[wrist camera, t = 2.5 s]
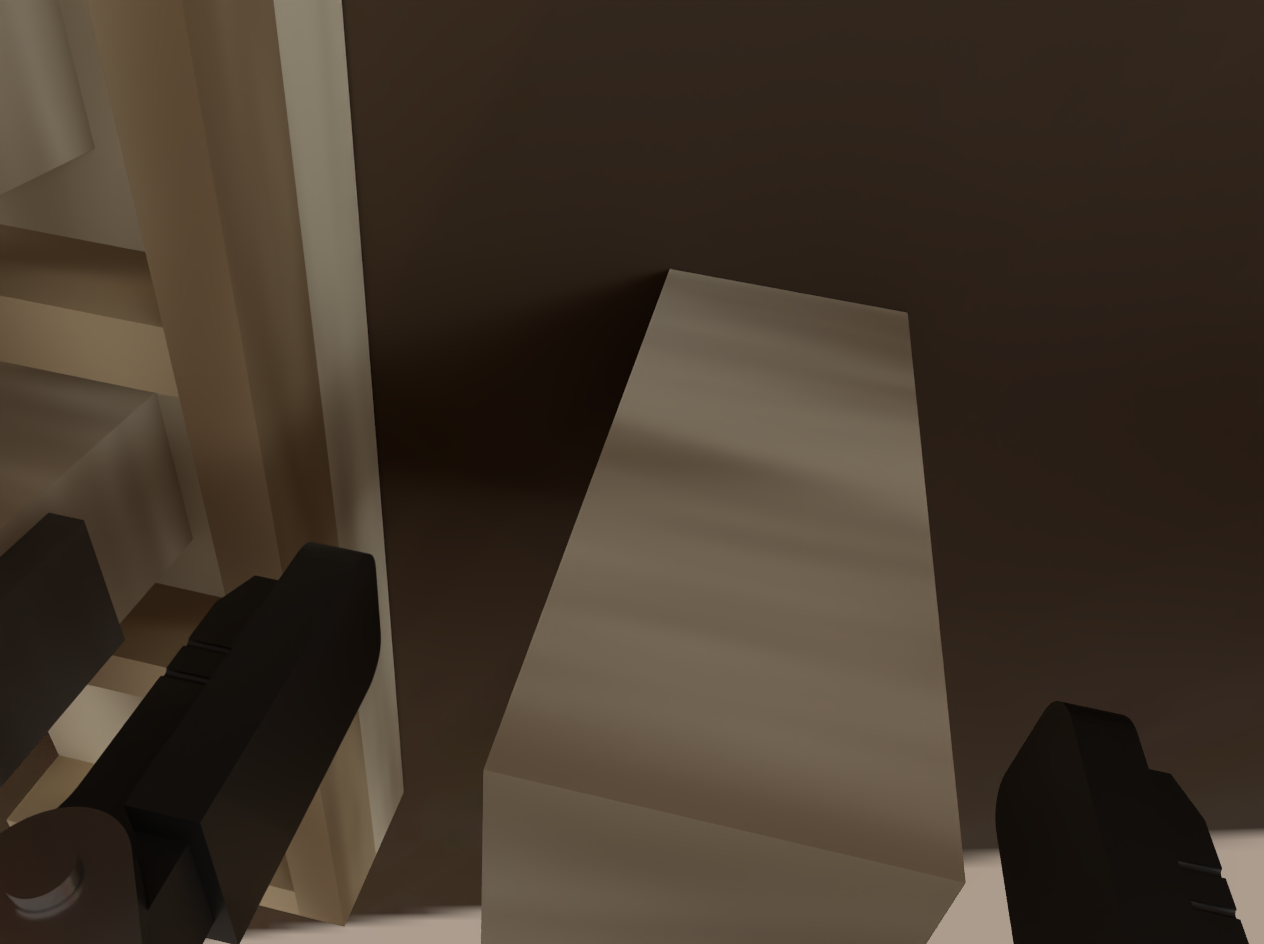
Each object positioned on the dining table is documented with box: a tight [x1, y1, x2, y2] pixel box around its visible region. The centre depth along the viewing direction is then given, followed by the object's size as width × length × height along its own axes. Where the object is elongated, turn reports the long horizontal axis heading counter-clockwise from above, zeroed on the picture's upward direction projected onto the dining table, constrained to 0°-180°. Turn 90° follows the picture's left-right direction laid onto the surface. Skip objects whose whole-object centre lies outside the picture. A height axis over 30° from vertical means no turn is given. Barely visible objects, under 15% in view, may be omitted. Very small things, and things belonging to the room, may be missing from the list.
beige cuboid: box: [481, 269, 965, 944], centre depth 13 cm, size 5×4×10 cm
